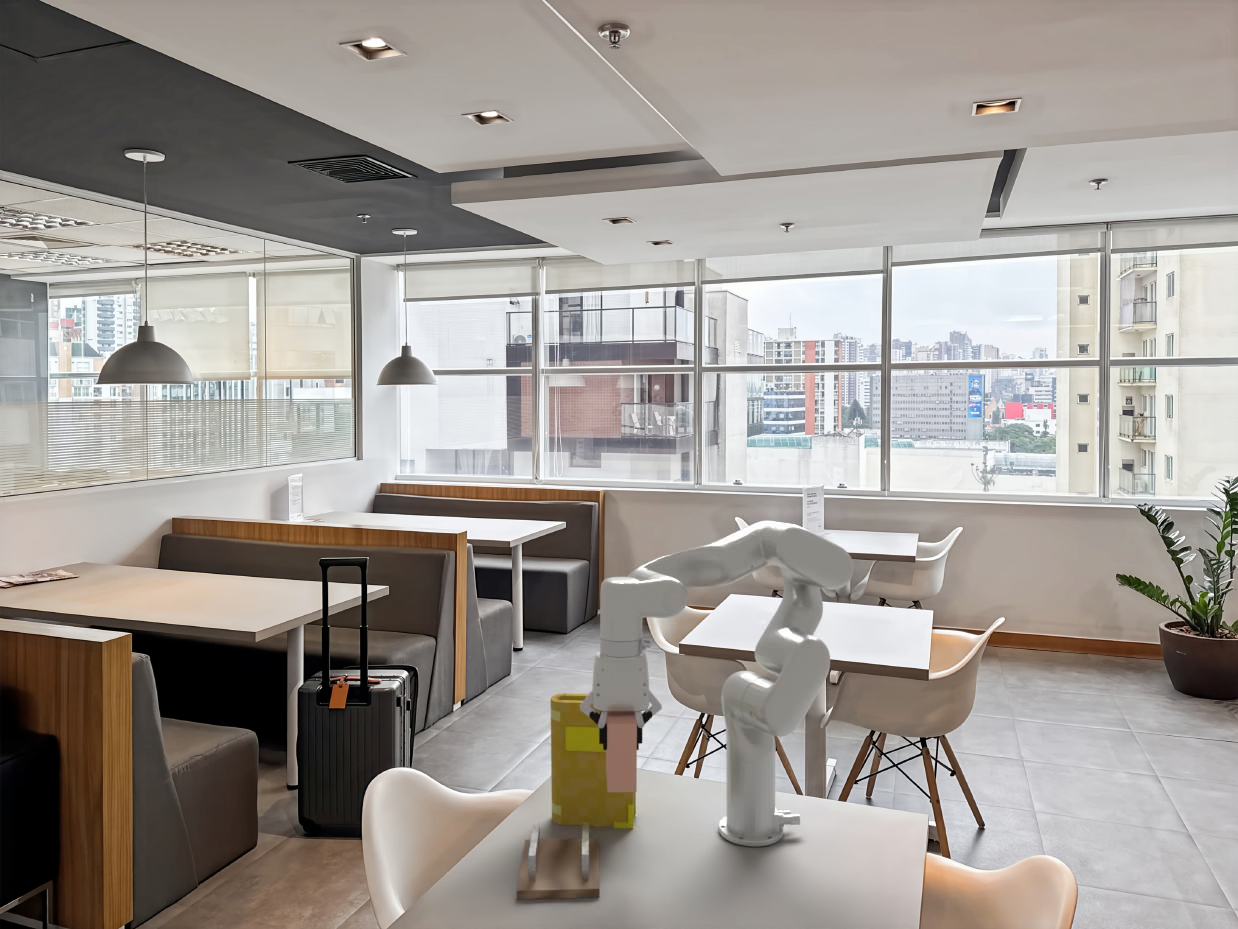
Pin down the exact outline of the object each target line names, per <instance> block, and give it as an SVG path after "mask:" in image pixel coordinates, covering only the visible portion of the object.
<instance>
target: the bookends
mask: <svg viewBox="0 0 1238 929" xmlns="http://www.w3.org/2000/svg"><path fill="white" fill-rule="evenodd" d="M540 827H541V826H540V822H539V823H536V822H535V823H532V828H531V830H532V831H531V836H530V839H531V842H530V849H529V855H528V859H529V881H536V875H537V867H538V859H539V851H540V839H541V836H540V835H541V830H540ZM581 827H582V829H581V838H582V880H589V838H590V826H589V822H582V825H581Z"/></svg>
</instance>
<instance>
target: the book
mask: <svg viewBox="0 0 1238 929" xmlns="http://www.w3.org/2000/svg"><path fill="white" fill-rule="evenodd" d="M588 695H589V693H572V692H571V693H570V692H569V693H566V692H565V693H564V692H563V693H558V694H554V695H552V696H551V697H550V751H551V752H550V764H551V766H550V767H551V768H550V769H551V772H550V773H551V776H550V777H551V821H552V822H553V823H555V824H557V825H562V826H563V825H564V826H582V822H589V827H590V826H591V827H608V826H612V828H614V829H630V828H633V827H634V826H635V818H636V816H635V815H637V803H636V801H637V794H636V793H637V791H636V792H608V790H607V776H606V750H603V744H599V727H598V725H597V724H596V723H595V722H594V721H593V720H592V719H591V718H590V717H589V716H588V715H586V714H585V713H584V712H582V711H581V710H580V705H581V703H582V702H583V701H584V700H585V698H586V697H587V696H588ZM590 707H591V708H592V709H593V710H595V709H594V706H593V702H592V704H591V705H590ZM595 711H596V712H597V713H598V714H599V713H600V711H597V710H595ZM634 817H635V818H634ZM633 829H634V828H633Z"/></svg>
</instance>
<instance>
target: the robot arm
mask: <svg viewBox="0 0 1238 929" xmlns="http://www.w3.org/2000/svg"><path fill="white" fill-rule="evenodd" d="M768 566H774V567H779V569H780V573H781V576H782V582H783V596H782V599H781V601H780V603H779V606H778V608H777V610H776V611H775V612H774V614H773V616H772V618H771V620H770V621H769V622H768V625H767V626H766V628H765V629H764V632H763V633H762V635H761V636H760V638H759V640H758V642H757V644H756V645H755V648H754V649H755V650H754V659H755V662H756V663H757V665H758V666H759V667H760V668H762V669H763V670H765V671H766V672H769V673H770V674H772V675H775V676H777V679H776V680H774V679H772V678H770V677H767V676H765V675H762V674H761V673H757V672H754V671H751V670H741V671H736V672H734V673H732V674H731V675H730V676H728V677H727V679H726V680H725V682H724V683H723V686H722V690H721V700H720V701H721V708H722V712H723V719H724V724H725V733H726V734H725V736H726V739H725V740H726V744H725V745H726V750H725V751H726V754H725V755H726V756H725V757H726V763H725V764H726V770H725V771H726V775H725V776H726V783H725V784H726V815H725V816H723V817H722V818H721V819H720V821H718V832H719V834H720V835H721V836H722V838H723V839H725V840H726V841H728V842H731V843H733V844H736V845H740V846H745V847H753V848H755V847H757V848H758V847H764V846H765V847H766V846H769V845H773V844H775V843H777V842H779V841H780V840H781V839H782V838H783V835H784V827H785V825H787V826H788V825H790V826H800V824H801V817H800V814H799V813H796V814H795V813H794V814H793V813H792V812H791V810H790V809H784V810H779V809H777V807H776V753H777V752H776V739H775V737H780V738H781V737H786V736H788V735H790V734H792V733H793V732H794V731H796V730H797V729H798V727H799V726H800V724H801V723H802V721H803V720H804V718H805V716H806V715H807V714H808V711H809V709H810V708H811V706H812V704H813V703H814V701H815V699H816V697H817V695H818V694H819V692H820V690H822V689H821V688H822V687H823V686H824V684H825V681H827V680H826V679H827V677H828V675H829V672H830V668H831V655H830V650H829V648H828V646H827V645H826V643H825V642H824V641H823V640H821V639H820V638H818V637H816V636H815V633H816V630H817V628H818V627H819V625H820V622H821V620H822V617H823V612H824V603H823V597H822V593H821V589H825V590H839V589H843V588H844V587H845V586H846V585H847V584H849V582H850V581H851V579H852V577H853V574H854V568H855V567H854V561H853V558H852V557H851V555H850V554H849V553H848V551H847V550H846V549H844V547H842V546H840V545H838V544H836V543H834V542H832V541H831V540H830V541H829V540H828V539H826V538H824V537H822V536H820V535H818V534H816V533H814V532H812V531H810V530H808V529H806V528H804V527H801V526H800V525H797V524H793V523H788V522H782V521H781V522H780V521H774V520H761V521H757V522H755V523H752V524H750V525H748V526H746V527H743V528H741V529H739V530H738V531H734V532H733V533H731V534H729V535H727V536H724V537H722V538H720V539H718V540H716V541H714V542H711V543H709V544H706V545H705V544H704V545H701V546H697V547H693V548H689V549H686V550H682V551H678V552H673V553H670V554H667V555H664V556H661V557H658V558H655V559H653V560H652V561H650V562H648V563H646V564H643V565H641V566H639V567H637V568H636V569H634V570H633V571H632V572H630V573H629V574H628V575H627V576H612V577H607V578H605V579H604V580H603V581H601V585H600V591H599V592H600V594H599V595H600V598H599V599H600V602H599V604H600V606H599V607H600V609H599V610H600V611H599V612H600V615H599V617H600V619H599V620H600V621H599V622H600V627H599V628H600V629H599V631H600V633H599V634H600V635H599V638H600V639H599V642H600V643H599V646H600V648H599V651H597V652H596V653H595V657H594V662H593V674H592V687H591V688H592V689H591V691H590V692H589V693H588V694H589V695H588V696H587V697H586V698H585V700H584V701H583V702H582V703H581V705H580V710H581V711H582V712H584V713H585V714H586V715H588V716H589V717H590V718H591V719H592V720H593V721H594V722H595V723H596V724H597V725H598V727H599V744H603V750H607V724H606V719H607V716H608V712H634V714H635V716H636V722H637V751H639V750H640V747H639V746H640V744H641V745H642V744H643V728H644V727H645V725H646V723H648V722H649V721H650V720H651V719H652V718H653V717H654V715H657V713H658V712H660V711H662V709H663V707H662V703H661V702H660V701H659V700H658V699H657V697H656V695H655V694H654V693H652V691H651V690H650V677H649V676H650V674H649V667H648V659H647V654H646V652H643V651H645V650H646V649H651V640H647V639H645V638H644V637H643V619H644V618H653V619H669V618H670V619H671V618H673V617H676V616H678V615H679V614H680V613H682V612H683V611H684V609H685V608H686V607H687V604H688V601H689V600H688V599H689V594H688V591H687V589H692V588H718V587H725V586H730V585H732V584H734V583H736V582H738V581H741V580H742V579H743V578H746V577H747V576H750V575H752V574H753V573H755V572H757V571H760V570H762V569H764V568H766V567H768ZM592 702H593V706H594V709H595V710H597V711H600V713H599V714H598V713H597V712H596V711H595V710H593V709H592V708H591V707H590V705H591V704H592ZM650 704H651V706H650ZM649 706H650V707H649ZM791 813H792V814H791Z"/></svg>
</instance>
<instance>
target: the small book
mask: <svg viewBox="0 0 1238 929" xmlns="http://www.w3.org/2000/svg"><path fill="white" fill-rule="evenodd" d="M606 724H607V750H606V776H607V790H608V792H636V793H637V785H638V784H637V773H638V771H637V770H638V769H637V767H638V766H637V763H638V762H637V760H638V758H637V757H638V756H637V754H638V753H637V752H638V750H637V722H636V716H635V714H634V712H608V716H607V719H606Z"/></svg>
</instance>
